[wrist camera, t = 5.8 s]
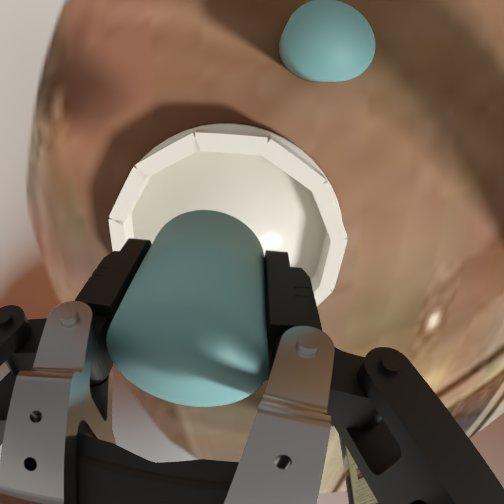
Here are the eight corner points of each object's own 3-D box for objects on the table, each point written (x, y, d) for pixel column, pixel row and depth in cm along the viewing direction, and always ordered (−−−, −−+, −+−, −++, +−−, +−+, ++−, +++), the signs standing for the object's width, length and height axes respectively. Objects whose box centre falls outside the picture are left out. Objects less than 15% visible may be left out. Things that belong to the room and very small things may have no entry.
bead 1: (271, 215, 10) (281, 310, 6) (258, 310, 12) (258, 411, 8) (149, 206, 10) (90, 289, 6) (156, 300, 12) (124, 394, 8)
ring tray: (360, 140, 17) (373, 148, 15) (315, 327, 25) (318, 348, 23) (114, 121, 17) (97, 127, 15) (133, 310, 24) (124, 329, 22)
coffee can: (387, 429, 36) (405, 515, 24) (322, 430, 35) (333, 528, 22) (430, 387, 30) (463, 486, 18) (360, 386, 29) (386, 507, 17)
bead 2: (351, 25, 14) (378, 11, 10) (344, 87, 16) (370, 89, 12) (282, 13, 13) (289, -8, 10) (275, 76, 15) (281, 73, 12)
